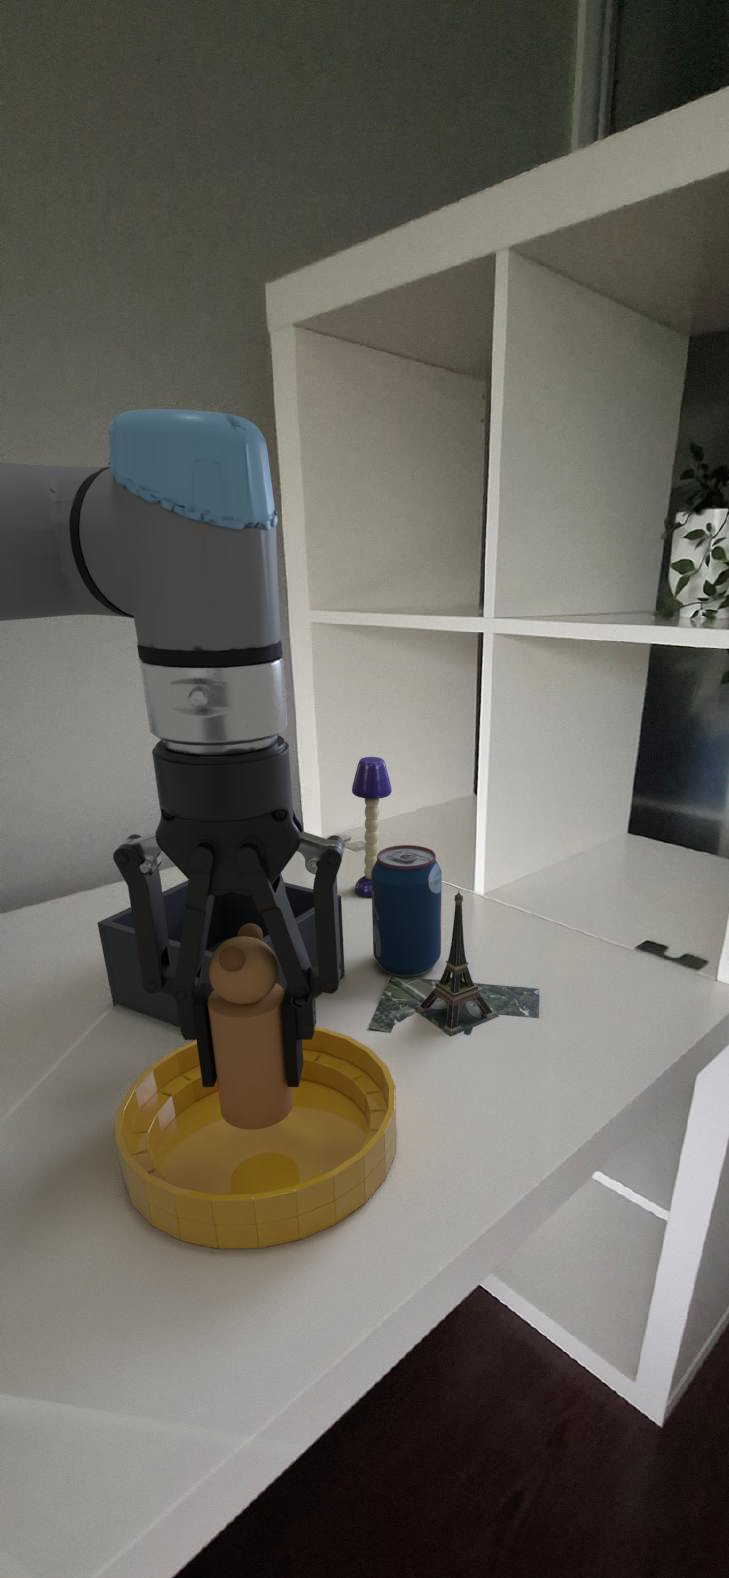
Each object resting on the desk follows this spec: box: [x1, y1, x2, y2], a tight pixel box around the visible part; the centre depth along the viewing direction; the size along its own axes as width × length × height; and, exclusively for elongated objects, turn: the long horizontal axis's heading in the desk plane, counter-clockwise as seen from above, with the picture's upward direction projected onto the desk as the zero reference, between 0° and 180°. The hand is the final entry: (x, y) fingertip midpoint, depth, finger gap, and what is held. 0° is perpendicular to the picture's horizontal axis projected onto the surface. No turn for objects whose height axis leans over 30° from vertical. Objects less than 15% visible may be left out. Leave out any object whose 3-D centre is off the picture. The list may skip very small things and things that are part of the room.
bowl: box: [114, 1026, 397, 1250], centre depth 57 cm, size 19×19×4 cm
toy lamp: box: [351, 756, 393, 898], centre depth 96 cm, size 5×5×17 cm
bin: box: [96, 879, 346, 1028], centre depth 76 cm, size 16×16×9 cm
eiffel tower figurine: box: [368, 891, 541, 1038], centre depth 71 cm, size 15×10×13 cm
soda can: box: [371, 844, 443, 978], centre depth 80 cm, size 7×7×12 cm
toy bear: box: [207, 923, 293, 1130], centre depth 53 cm, size 5×5×14 cm
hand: (254, 1074), depth 55 cm, fingers closed on toy bear, 5 cm apart
